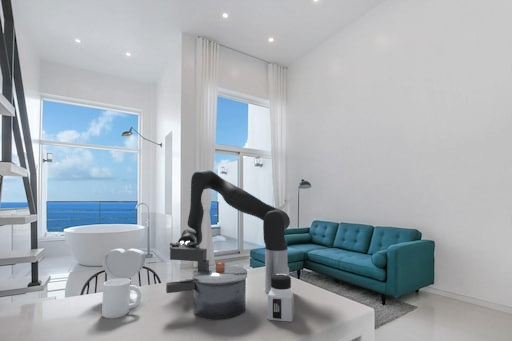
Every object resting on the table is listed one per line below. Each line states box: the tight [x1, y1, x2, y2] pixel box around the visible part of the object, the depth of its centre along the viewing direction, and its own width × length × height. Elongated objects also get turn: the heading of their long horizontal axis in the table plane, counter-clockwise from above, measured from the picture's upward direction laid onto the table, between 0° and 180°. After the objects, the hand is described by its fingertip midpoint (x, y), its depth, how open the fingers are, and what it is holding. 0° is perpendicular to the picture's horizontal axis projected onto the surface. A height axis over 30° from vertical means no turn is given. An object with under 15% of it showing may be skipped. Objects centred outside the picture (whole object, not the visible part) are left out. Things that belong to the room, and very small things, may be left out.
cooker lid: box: [169, 247, 248, 284], centre depth 101 cm, size 28×19×9 cm, turn 76°
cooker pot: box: [165, 278, 247, 321], centre depth 98 cm, size 27×18×11 cm, turn 111°
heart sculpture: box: [101, 248, 146, 300], centre depth 111 cm, size 16×5×18 cm, turn 90°
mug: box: [101, 278, 142, 319], centre depth 95 cm, size 12×8×10 cm
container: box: [267, 274, 295, 323], centre depth 94 cm, size 8×8×13 cm
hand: (181, 249), depth 111 cm, fingers closed
